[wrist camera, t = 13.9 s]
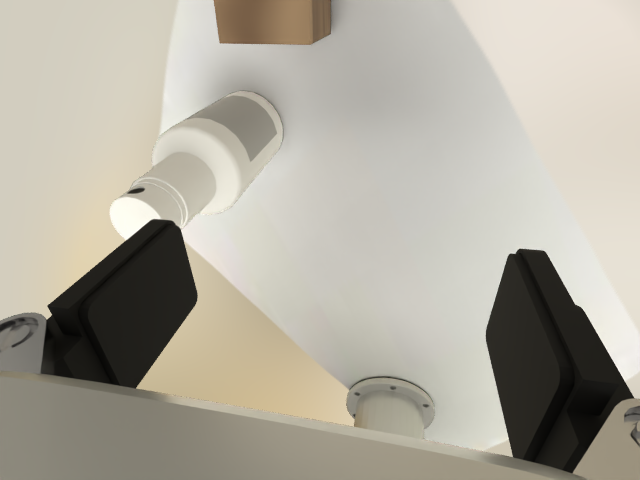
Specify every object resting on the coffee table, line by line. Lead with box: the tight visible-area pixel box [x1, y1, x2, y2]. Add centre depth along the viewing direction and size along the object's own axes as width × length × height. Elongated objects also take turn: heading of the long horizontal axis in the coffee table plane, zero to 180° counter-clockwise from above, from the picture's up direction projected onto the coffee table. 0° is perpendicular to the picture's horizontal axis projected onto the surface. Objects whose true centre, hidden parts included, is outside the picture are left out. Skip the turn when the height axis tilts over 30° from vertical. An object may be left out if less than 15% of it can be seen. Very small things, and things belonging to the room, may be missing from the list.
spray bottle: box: [110, 91, 283, 240], centre depth 28 cm, size 7×7×18 cm
